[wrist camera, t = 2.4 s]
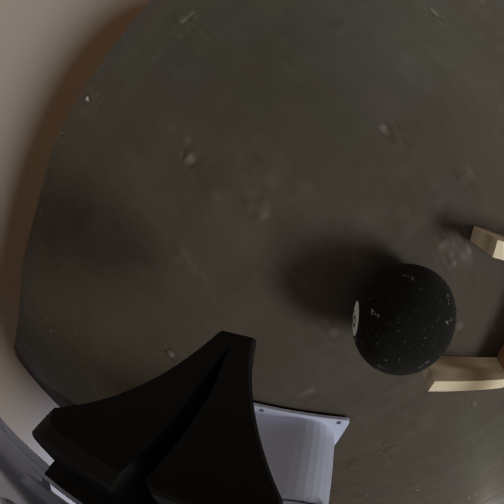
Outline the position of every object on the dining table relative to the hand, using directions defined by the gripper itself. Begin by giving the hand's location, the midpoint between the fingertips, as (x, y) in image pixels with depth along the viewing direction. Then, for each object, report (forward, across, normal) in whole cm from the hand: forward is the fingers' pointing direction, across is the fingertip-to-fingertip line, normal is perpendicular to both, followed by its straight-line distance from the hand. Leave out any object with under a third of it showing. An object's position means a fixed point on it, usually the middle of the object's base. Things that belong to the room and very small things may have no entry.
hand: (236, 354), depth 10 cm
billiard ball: (+8, -8, 0) cm, 11 cm away
